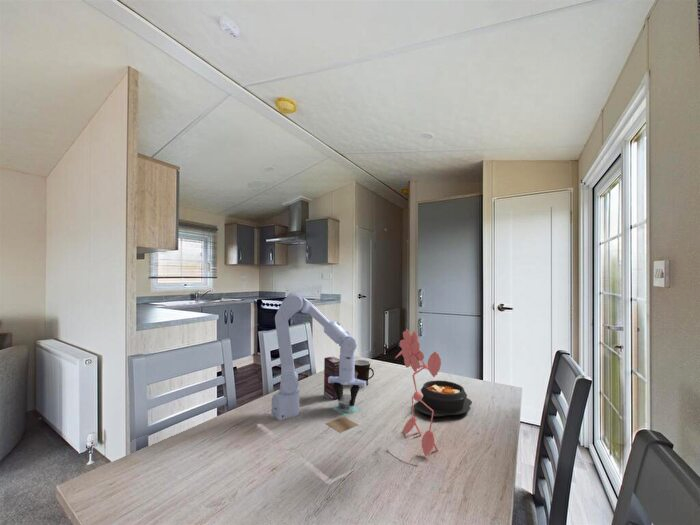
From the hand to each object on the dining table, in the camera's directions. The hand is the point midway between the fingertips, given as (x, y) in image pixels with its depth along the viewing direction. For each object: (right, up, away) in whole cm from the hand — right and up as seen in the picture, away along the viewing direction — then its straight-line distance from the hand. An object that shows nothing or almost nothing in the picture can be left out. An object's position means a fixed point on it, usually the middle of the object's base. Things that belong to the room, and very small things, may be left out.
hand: (346, 404), depth 120 cm
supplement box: (-6, -3, +12) cm, 14 cm away
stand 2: (-1, -2, -12) cm, 12 cm away
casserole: (+37, -3, +3) cm, 37 cm away
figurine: (+19, -3, -23) cm, 30 cm away
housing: (0, -2, 0) cm, 2 cm away
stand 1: (0, -3, 0) cm, 3 cm away
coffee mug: (+7, -4, +27) cm, 28 cm away
